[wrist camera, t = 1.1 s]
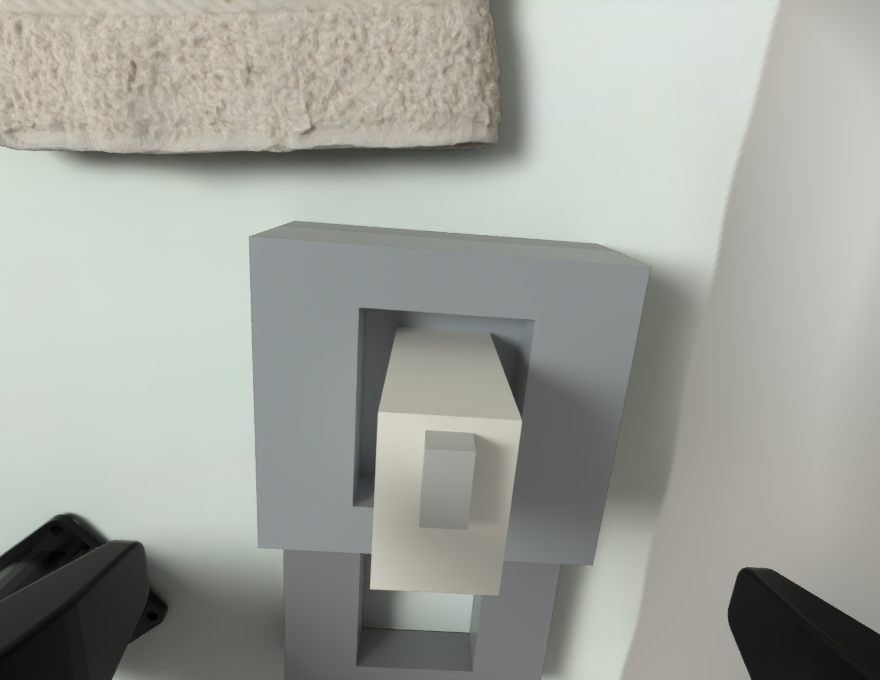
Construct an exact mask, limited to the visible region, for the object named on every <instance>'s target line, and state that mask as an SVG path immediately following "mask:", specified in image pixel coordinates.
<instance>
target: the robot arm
mask: <svg viewBox="0 0 880 680" xmlns="http://www.w3.org/2000/svg"><path fill="white" fill-rule="evenodd" d="M58 526H60V527H61V528H62V529H60V528H59V527H58ZM152 611H153V612H152ZM154 612H155V613H154ZM167 613H168V607H167V606H166V604H165V603H164V602H163V601H162V600H160V599H159V598H158V597H157V596H156V595H155V594H154V593H153V592H152V591H151V590H150V589H149V581H148V572H147V564H146V556H145V550H144V546H143V545H142V543H140V542H138V541H126V540H113V541H110V542H108V543H106V544H104V545H102V546H101V545H100V544H99V543H98V542H97V541H96V540H95V539H94V538H92V537H91V536H90V535H89V534H88V533H87V532H86V531H85V530H84V529H83V528H81V527H80V526H79V525H78V524H77V523H76V522H75V521H74V520H73V519H72V518H70V517H69V516H66V515H56V516H54V517H53V518H51V519H50V520H49V521H47V522H46V523H45V524H43V525H42V526H41V527H39V528H38V529H36V530H35V531H34V532H32V533H31V534H30V535H28V536H27V537H25V538H24V539H23V540H21V541H20V542H19V543H17V544H16V545H14V546H13V547H12V548H10V549H9V550H8V551H6V552H5V553H3V554H2V555H1V556H0V680H112V678H113V676H114V674H115V671H116V669H117V667H118V665H119V663H120V660H121V658H122V656H123V654H124V651H125V649H126V647H127V645H128V644H129V643H131V642H132V641H134V640H135V639H137V638H139V637H140V636H142V635H143V634H145V633H146V632H148V631H149V630H151V629H152V628H154V627H155V626H157V625H158V624H160V623H161V622H162V621H163V620H164V618H165V616H166V615H167ZM728 622H729V626H730V628H731V631H732V634H733V636H734V638H735V641H736V643H737V646H738V648H739V651H740V653H741V656H742V658H743V661H744V663H745V665H746V668H747V670H748V673H749V675H750V677H751V680H880V634H878V633H877V632H875V631H873V630H872V629H870V628H868V627H866V626H865V625H863V624H862V623H860V622H858V621H857V620H855V619H853V618H852V617H850V616H848V615H847V614H845V613H843V612H842V611H840V610H839V609H837V608H835V607H833V606H832V605H830V604H829V603H827V602H825V601H823V600H822V599H820V598H819V597H817V596H815V595H814V594H812V593H810V592H809V591H807V590H805V589H804V588H802V587H800V586H799V585H797V584H795V583H794V582H792V581H790V580H789V579H787V578H785V577H784V576H782V575H780V574H779V573H777V572H775V571H774V570H771V569H768V568H752V567H746V568H743V569H741V570H740V571H739V573H738V575H737V578H736V582H735V586H734V590H733V593H732V596H731V600H730V604H729V608H728Z"/></svg>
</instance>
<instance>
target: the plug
mask: <svg viewBox="0 0 880 680" xmlns="http://www.w3.org/2000/svg"><path fill="white" fill-rule="evenodd" d="M521 426H522V419H521V416H520V413H519V411H518V408H517V405H516V403H515V400H514V397H513V394H512V392H511V389H510V386H509V384H508V381H507V378H506V376H505V373H504V370H503V367H502V365H501V362H500V359H499V357H498V354H497V351H496V349H495V346H494V343H493V340H492V338H491V335H490V332H478V331H463V330H449V329H434V328H420V327H405V326H397V329H396V334H395V338H394V343H393V347H392V352H391V356H390V360H389V365H388V369H387V374H386V378H385V383H384V387H383V392H382V396H381V401H380V405H379V410H378V424H377V446H376V468H375V490H374V512H373V534H372V556H371V578H370V589H376V590H396V591H416V592H436V593H456V594H476V595H496V596H499V590H500V583H501V575H502V568H503V560H504V553H505V545H506V538H507V530H508V523H509V515H510V508H511V500H512V493H513V486H514V478H515V471H516V463H517V456H518V448H519V441H520V433H521Z"/></svg>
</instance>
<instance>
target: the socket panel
mask: <svg viewBox="0 0 880 680" xmlns="http://www.w3.org/2000/svg"><path fill="white" fill-rule="evenodd" d="M249 255H250V288H251V322H252V356H253V389H254V423H255V456H256V490H257V523H258V548H269V549H284V622H285V680H541V677H542V671H543V665H544V659H545V653H546V648H547V642H548V636H549V630H550V624H551V619H552V613H553V607H554V601H555V596H556V590H557V584H558V578H559V572H560V567H561V564H574V565H593V561H594V556H595V551H596V546H597V541H598V536H599V530H600V525H601V520H602V515H603V510H604V505H605V500H606V494H607V489H608V484H609V479H610V474H611V469H612V464H613V458H614V453H615V448H616V443H617V438H618V433H619V428H620V422H621V417H622V412H623V407H624V402H625V397H626V392H627V386H628V381H629V376H630V371H631V366H632V361H633V355H634V350H635V345H636V340H637V335H638V330H639V325H640V319H641V314H642V309H643V304H644V299H645V294H646V289H647V283H648V278H649V273H650V268H651V266H649V265H646V264H644V263H641V262H639V261H637V260H634V259H632V258H629V257H627V256H625V255H622V254H620V253H618V252H615V251H613V250H610V249H608V248H606V247H603V246H601V245H598V244H592V243H579V242H565V241H552V240H539V239H526V238H513V237H499V236H486V235H473V234H460V233H446V232H433V231H420V230H407V229H394V228H380V227H367V226H354V225H341V224H328V223H314V222H301V221H293V222H290V223H287V224H284V225H281V226H278V227H275V228H273V229H270V230H267V231H264V232H261V233H258V234H255V235H252V236H249ZM397 326H405V327H420V328H434V329H449V330H463V331H478V332H490V335H491V338H492V340H493V343H494V346H495V349H496V351H497V354H498V357H499V359H500V362H501V365H502V367H503V370H504V373H505V376H506V378H507V381H508V384H509V386H510V389H511V392H512V394H513V397H514V400H515V403H516V405H517V408H518V411H519V413H520V416H521V419H522V426H521V433H520V441H519V448H518V456H517V463H516V471H515V478H514V486H513V493H512V500H511V508H510V515H509V523H508V530H507V538H506V545H505V553H504V560H503V568H502V575H501V583H500V590H499V596H496V595H476V594H474V599H473V608H472V616H471V625H470V633H452V632H431V631H410V630H389V629H368V628H362V612H363V588H364V563H365V554H372V534H373V512H374V490H375V468H376V446H377V424H378V410H379V405H380V401H381V396H382V392H383V387H384V383H385V378H386V374H387V369H388V365H389V360H390V356H391V352H392V347H393V343H394V338H395V334H396V329H397Z"/></svg>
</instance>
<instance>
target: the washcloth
mask: <svg viewBox="0 0 880 680" xmlns="http://www.w3.org/2000/svg"><path fill="white" fill-rule="evenodd" d="M498 61H499V54H498V49H497V43H496V40H495V34H494V20H493V18H492V15H491V12H490V10H489V0H0V146H3V147H8V148H11V149H16V150H30V151H54V150H59V151H64V150H72V151H104V152H108V153H123V154H126V153H141V154H182V153H186V154H191V153H214V152H231V151H257V152H259V151H271V152H290V151H295V150H312V149H313V150H320V149H325V150H330V149H345V148H346V149H384V150H405V149H409V150H441V149H453V148H457V149H460V148H477V147H487V146H490V145H494V144H498V141H499V138H498V132H497V131H498V127H499V125H500V122H501V120H502V119H501V109H500V105H499V101H500V92H499V87H498V82H499V78H500V68H499V66H498Z"/></svg>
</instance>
